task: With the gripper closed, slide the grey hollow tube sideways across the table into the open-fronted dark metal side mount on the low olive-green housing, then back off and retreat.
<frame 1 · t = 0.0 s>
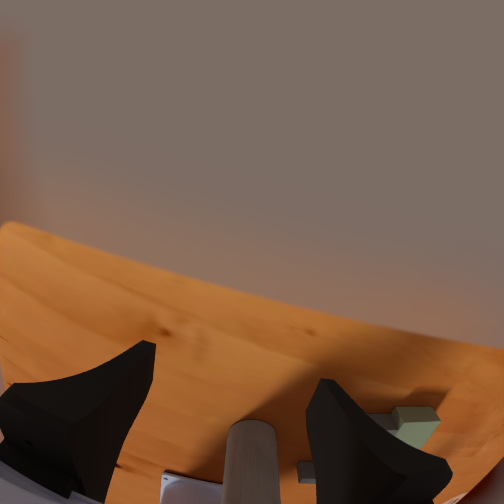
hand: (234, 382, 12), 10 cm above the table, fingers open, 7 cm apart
mount: (355, 443, 26), on the table
grey hollow tube: (251, 433, 26), on the table
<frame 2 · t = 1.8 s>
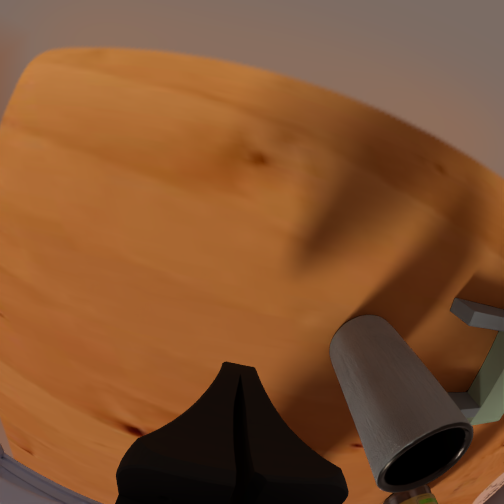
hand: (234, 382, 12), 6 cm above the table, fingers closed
mount: (472, 357, 19), on the table
grey hollow tube: (361, 343, 19), on the table
sauce bottle: (404, 494, 24), on the table
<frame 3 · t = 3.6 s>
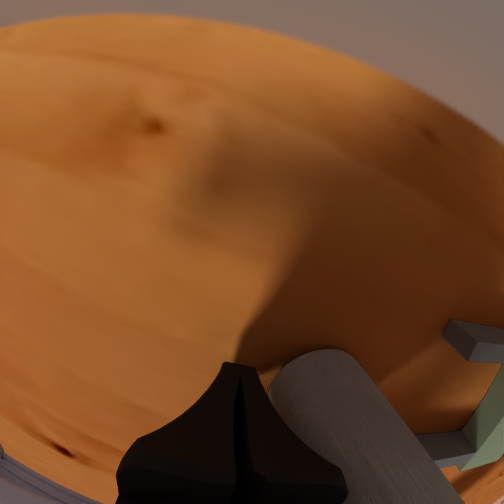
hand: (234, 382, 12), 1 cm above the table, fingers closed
mount: (470, 392, 14), on the table
grey hollow tube: (313, 384, 13), on the table
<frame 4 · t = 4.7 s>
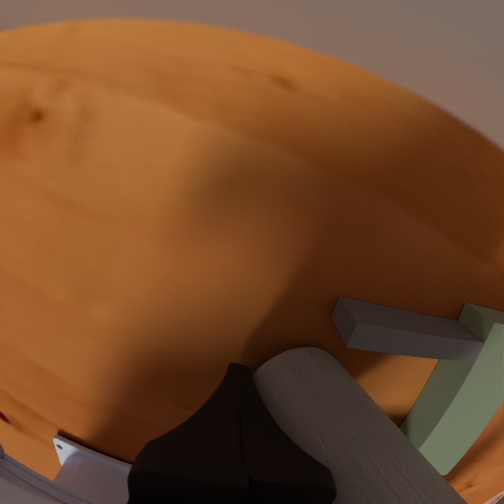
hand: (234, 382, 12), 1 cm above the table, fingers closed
mount: (393, 391, 14), on the table
grey hollow tube: (291, 384, 13), on the table, touching gripper
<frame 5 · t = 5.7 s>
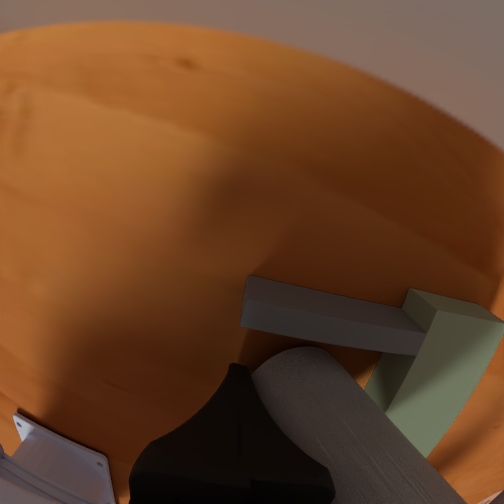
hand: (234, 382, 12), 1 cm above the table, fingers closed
mount: (329, 384, 13), on the table
grey hollow tube: (290, 384, 13), on the table, touching gripper
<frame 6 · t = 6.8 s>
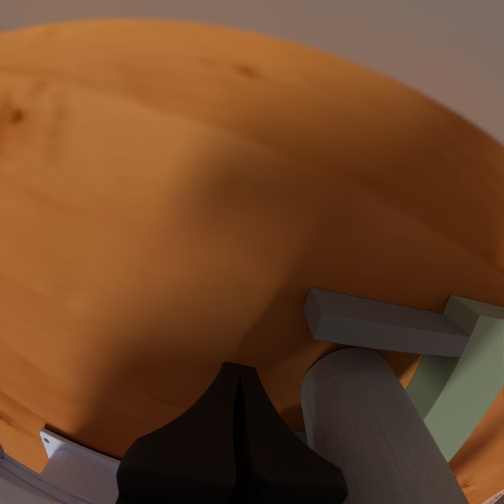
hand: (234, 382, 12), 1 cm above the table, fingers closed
mount: (375, 387, 13), on the table
grey hollow tube: (344, 382, 14), on the table
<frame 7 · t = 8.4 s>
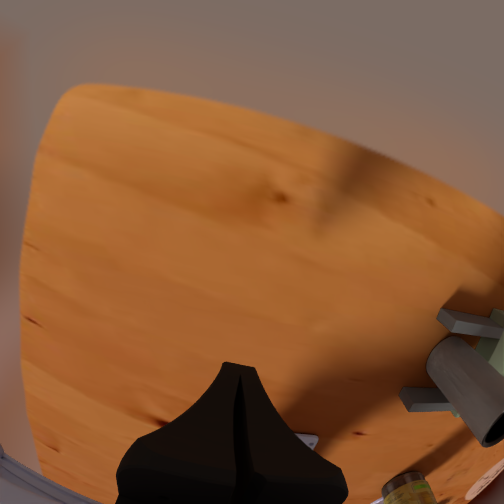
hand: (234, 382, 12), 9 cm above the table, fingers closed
mount: (457, 358, 23), on the table
grey hollow tube: (444, 356, 23), on the table
sauce bottle: (400, 481, 28), on the table
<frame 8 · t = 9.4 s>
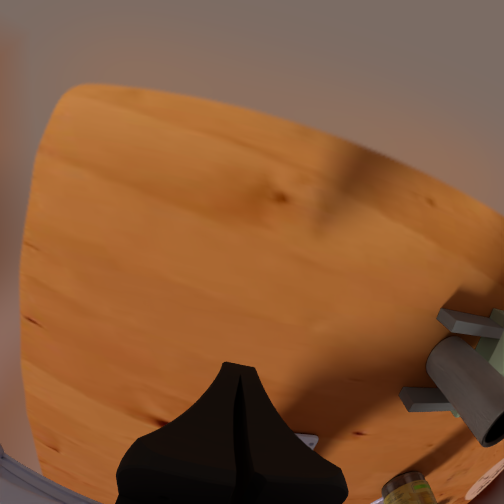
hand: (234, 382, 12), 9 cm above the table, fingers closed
mount: (457, 358, 23), on the table
grey hollow tube: (444, 356, 23), on the table
sauce bottle: (400, 481, 28), on the table
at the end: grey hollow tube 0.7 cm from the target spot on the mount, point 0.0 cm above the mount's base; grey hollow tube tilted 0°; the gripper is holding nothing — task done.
